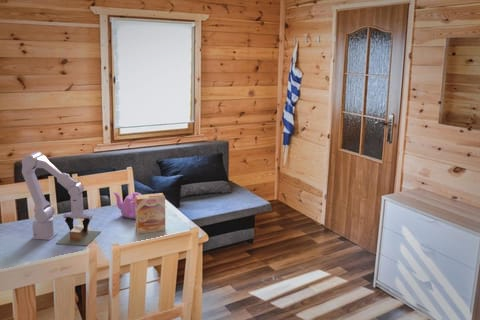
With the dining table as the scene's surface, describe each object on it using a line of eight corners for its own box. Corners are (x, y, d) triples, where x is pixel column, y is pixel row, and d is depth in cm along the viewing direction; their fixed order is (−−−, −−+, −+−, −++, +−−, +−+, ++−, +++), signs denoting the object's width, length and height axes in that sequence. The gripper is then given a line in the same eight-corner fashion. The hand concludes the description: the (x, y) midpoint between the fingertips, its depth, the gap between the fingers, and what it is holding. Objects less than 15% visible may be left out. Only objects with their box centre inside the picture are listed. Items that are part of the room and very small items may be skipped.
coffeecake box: (137, 234, 248) (136, 199, 243) (135, 229, 254) (134, 195, 249) (165, 230, 253) (165, 196, 249) (162, 226, 260) (162, 192, 255)
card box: (78, 233, 246) (78, 224, 245) (88, 233, 246) (87, 224, 245) (70, 240, 237) (69, 231, 235) (79, 241, 236) (79, 232, 235)
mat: (55, 244, 233) (55, 243, 233) (72, 230, 251) (71, 229, 251) (86, 246, 232) (86, 245, 232) (100, 232, 249) (100, 231, 249)
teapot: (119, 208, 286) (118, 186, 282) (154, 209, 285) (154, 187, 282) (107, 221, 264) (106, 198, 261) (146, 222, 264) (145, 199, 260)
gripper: (59, 208, 234) (61, 233, 237) (87, 210, 233) (89, 235, 236) (66, 203, 241) (67, 228, 244) (93, 205, 239) (94, 230, 243)
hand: (78, 231), depth 240 cm, fingers open, 7 cm apart
